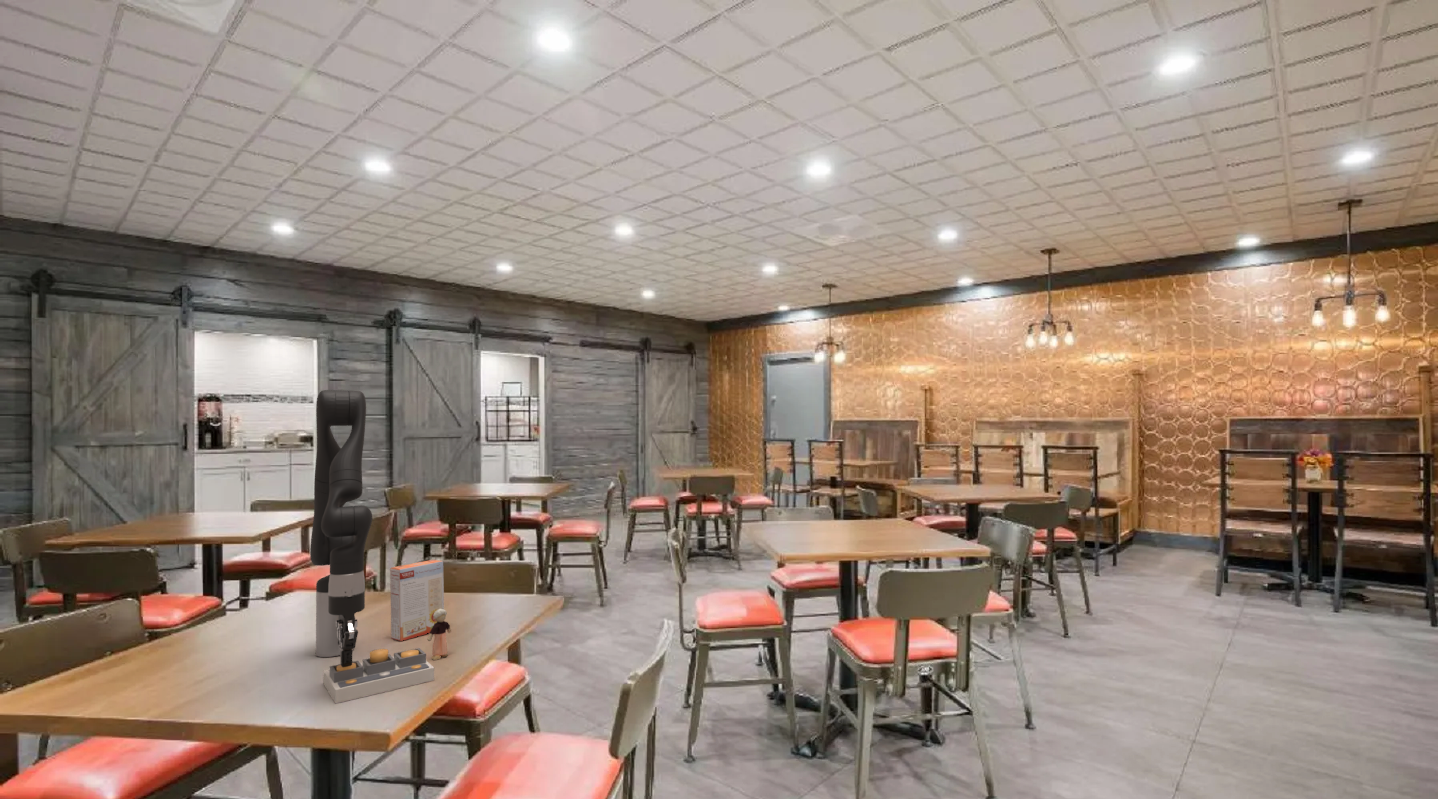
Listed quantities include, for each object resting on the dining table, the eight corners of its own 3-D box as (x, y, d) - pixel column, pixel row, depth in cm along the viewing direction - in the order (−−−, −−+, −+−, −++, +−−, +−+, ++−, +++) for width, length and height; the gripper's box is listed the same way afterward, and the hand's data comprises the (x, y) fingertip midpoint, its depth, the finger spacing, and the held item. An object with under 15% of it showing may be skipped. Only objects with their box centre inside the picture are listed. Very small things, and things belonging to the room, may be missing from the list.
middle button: (367, 659, 162) (368, 651, 163) (385, 656, 165) (385, 647, 165) (371, 663, 159) (371, 655, 159) (389, 660, 162) (389, 651, 162)
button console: (323, 683, 162) (323, 661, 162) (415, 663, 175) (415, 642, 175) (335, 703, 149) (335, 679, 149) (434, 680, 162) (434, 658, 163)
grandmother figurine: (438, 661, 175) (438, 612, 176) (425, 661, 176) (425, 612, 177) (455, 652, 183) (455, 605, 184) (442, 651, 184) (442, 604, 184)
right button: (399, 660, 167) (399, 652, 167) (416, 656, 169) (416, 648, 169) (403, 664, 164) (403, 656, 164) (420, 660, 166) (420, 652, 166)
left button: (335, 674, 158) (335, 665, 158) (354, 670, 161) (354, 661, 161) (338, 678, 155) (338, 669, 155) (357, 674, 157) (357, 665, 157)
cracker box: (433, 626, 208) (433, 558, 209) (444, 629, 204) (444, 560, 205) (389, 638, 197) (389, 566, 197) (400, 642, 193) (400, 568, 194)
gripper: (323, 589, 161) (323, 662, 161) (333, 599, 151) (333, 677, 150) (358, 584, 166) (358, 655, 165) (370, 593, 156) (370, 669, 155)
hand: (346, 665), depth 158 cm, fingers closed
